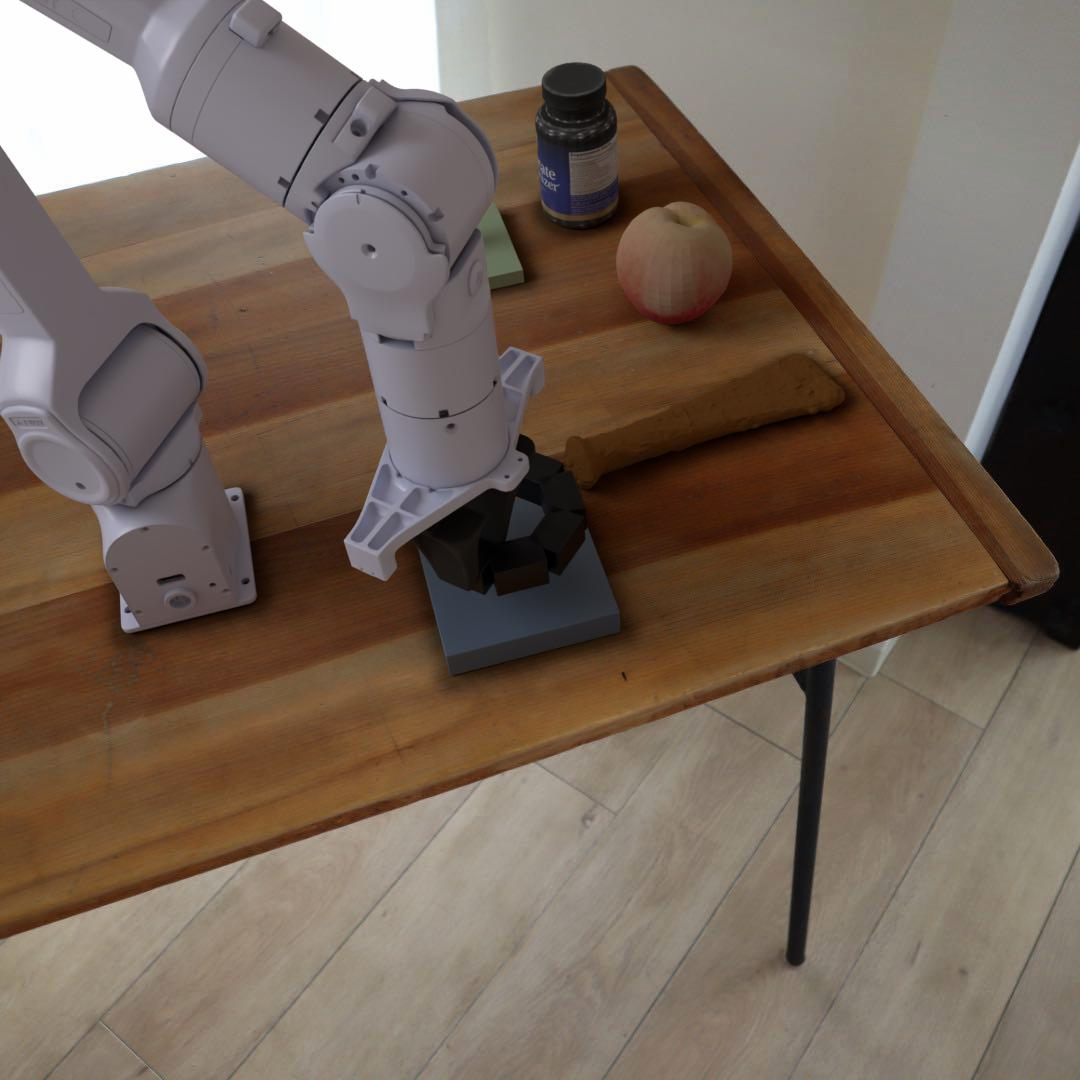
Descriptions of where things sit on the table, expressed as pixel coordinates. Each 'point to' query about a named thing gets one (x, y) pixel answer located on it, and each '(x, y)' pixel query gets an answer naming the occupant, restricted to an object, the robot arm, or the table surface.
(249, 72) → the robot arm
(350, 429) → the table surface
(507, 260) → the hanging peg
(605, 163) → the pill bottle
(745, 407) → the primitive tool
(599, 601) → the gray square coaster
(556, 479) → the black segmented ring
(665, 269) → the fruit
